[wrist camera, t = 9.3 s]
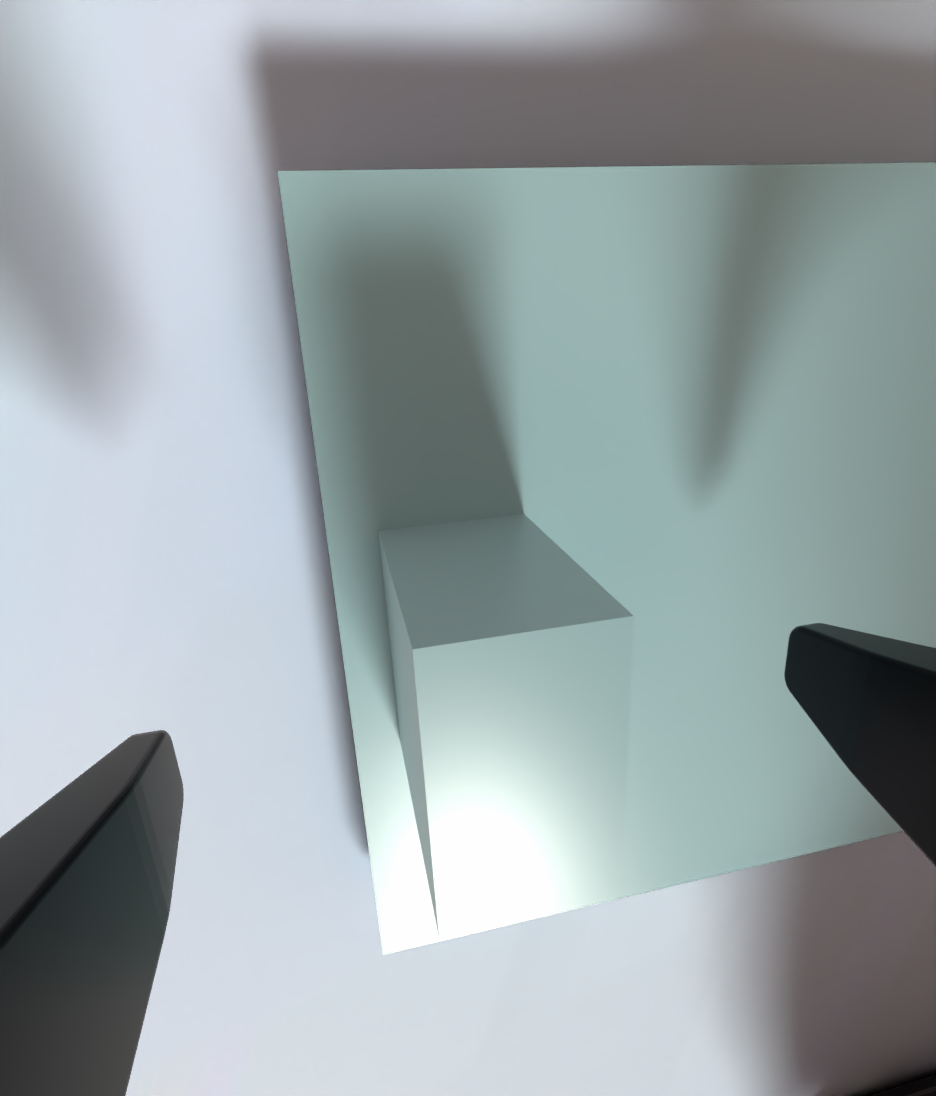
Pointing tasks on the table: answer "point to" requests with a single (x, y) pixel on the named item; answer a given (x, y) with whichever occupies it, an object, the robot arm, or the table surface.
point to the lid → (610, 509)
